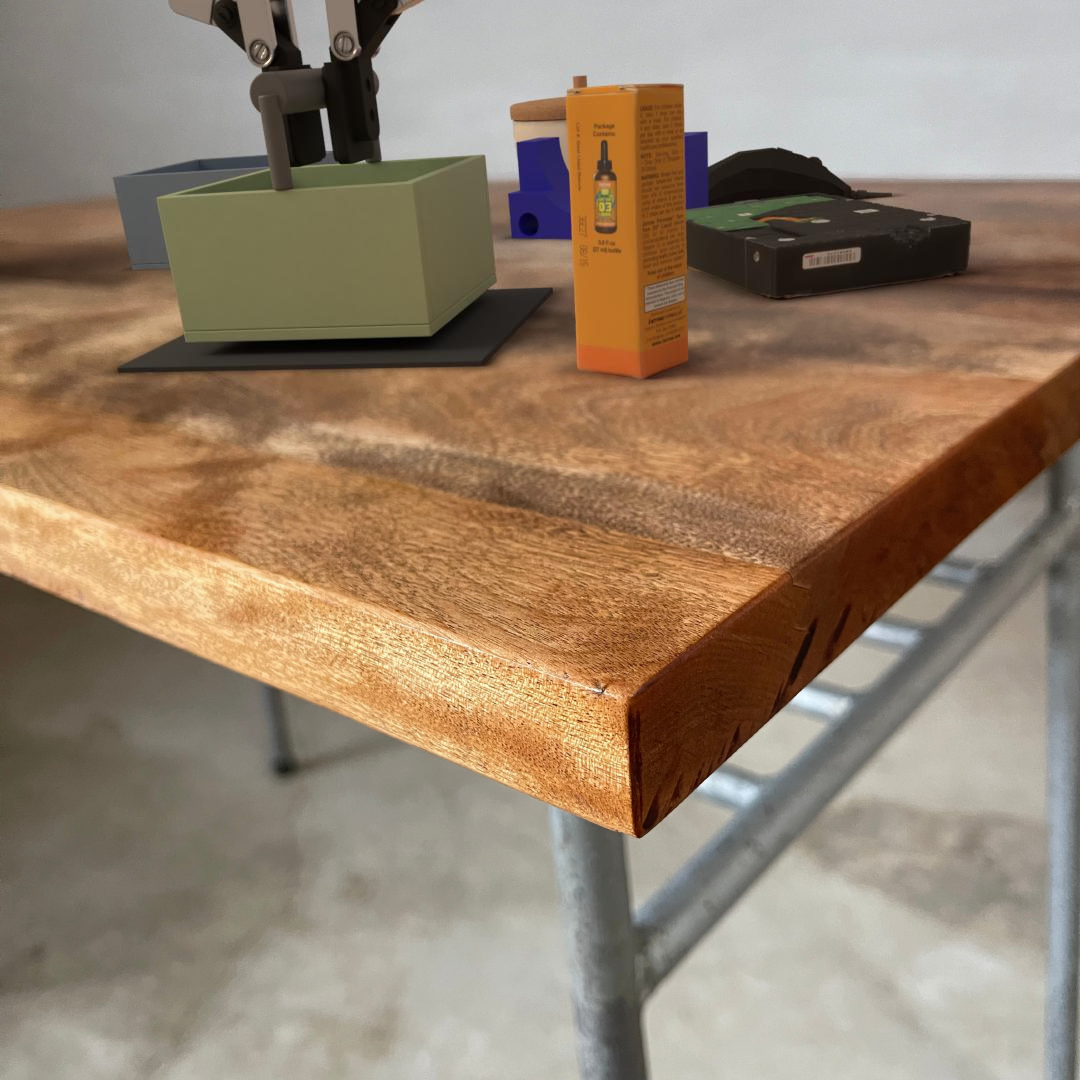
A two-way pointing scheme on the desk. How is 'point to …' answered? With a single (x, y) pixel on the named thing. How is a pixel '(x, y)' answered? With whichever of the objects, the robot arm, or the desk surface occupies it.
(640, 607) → the desk surface
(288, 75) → the top basket
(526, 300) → the mat
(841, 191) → the gaming mouse
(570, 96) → the supplement box
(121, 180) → the box
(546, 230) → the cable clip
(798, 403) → the desk surface
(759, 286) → the disk drive
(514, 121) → the trinket box
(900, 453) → the desk surface
